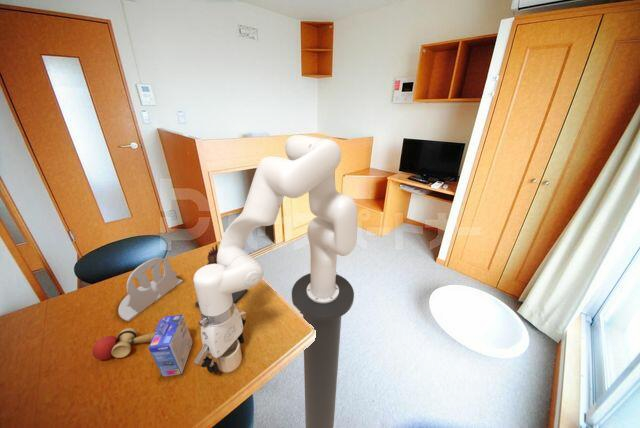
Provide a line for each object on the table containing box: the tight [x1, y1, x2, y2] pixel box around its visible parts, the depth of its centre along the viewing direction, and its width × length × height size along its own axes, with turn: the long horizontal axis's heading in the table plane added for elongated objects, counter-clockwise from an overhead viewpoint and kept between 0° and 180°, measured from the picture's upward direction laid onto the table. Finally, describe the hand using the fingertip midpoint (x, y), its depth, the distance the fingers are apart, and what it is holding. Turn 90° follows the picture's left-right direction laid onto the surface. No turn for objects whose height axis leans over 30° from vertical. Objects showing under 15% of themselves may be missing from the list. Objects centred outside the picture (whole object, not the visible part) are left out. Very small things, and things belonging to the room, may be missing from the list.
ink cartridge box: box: [148, 314, 194, 377], centre depth 66 cm, size 10×6×14 cm, turn 10°
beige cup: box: [215, 339, 243, 373], centre depth 67 cm, size 7×7×6 cm
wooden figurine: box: [206, 243, 219, 265], centre depth 99 cm, size 7×6×15 cm
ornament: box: [117, 257, 184, 322], centre depth 88 cm, size 22×13×17 cm, turn 159°
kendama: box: [91, 327, 157, 361], centre depth 71 cm, size 8×6×18 cm
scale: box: [195, 289, 249, 309], centre depth 89 cm, size 14×12×3 cm
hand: (227, 355), depth 67 cm, fingers open, 9 cm apart
